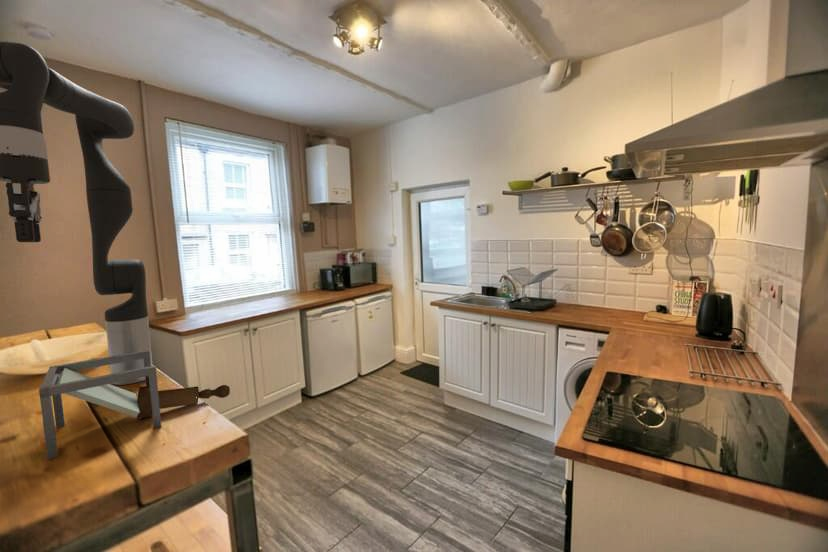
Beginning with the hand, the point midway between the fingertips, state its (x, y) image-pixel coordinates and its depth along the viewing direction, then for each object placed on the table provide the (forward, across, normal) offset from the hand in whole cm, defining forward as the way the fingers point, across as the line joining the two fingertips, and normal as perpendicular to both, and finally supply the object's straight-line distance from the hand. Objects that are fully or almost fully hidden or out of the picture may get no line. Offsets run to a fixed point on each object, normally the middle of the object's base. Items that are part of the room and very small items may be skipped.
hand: (29, 242), depth 69 cm
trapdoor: (+31, +6, +8) cm, 32 cm away
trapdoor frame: (+38, +6, +10) cm, 40 cm away
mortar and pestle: (+35, +6, +14) cm, 38 cm away
